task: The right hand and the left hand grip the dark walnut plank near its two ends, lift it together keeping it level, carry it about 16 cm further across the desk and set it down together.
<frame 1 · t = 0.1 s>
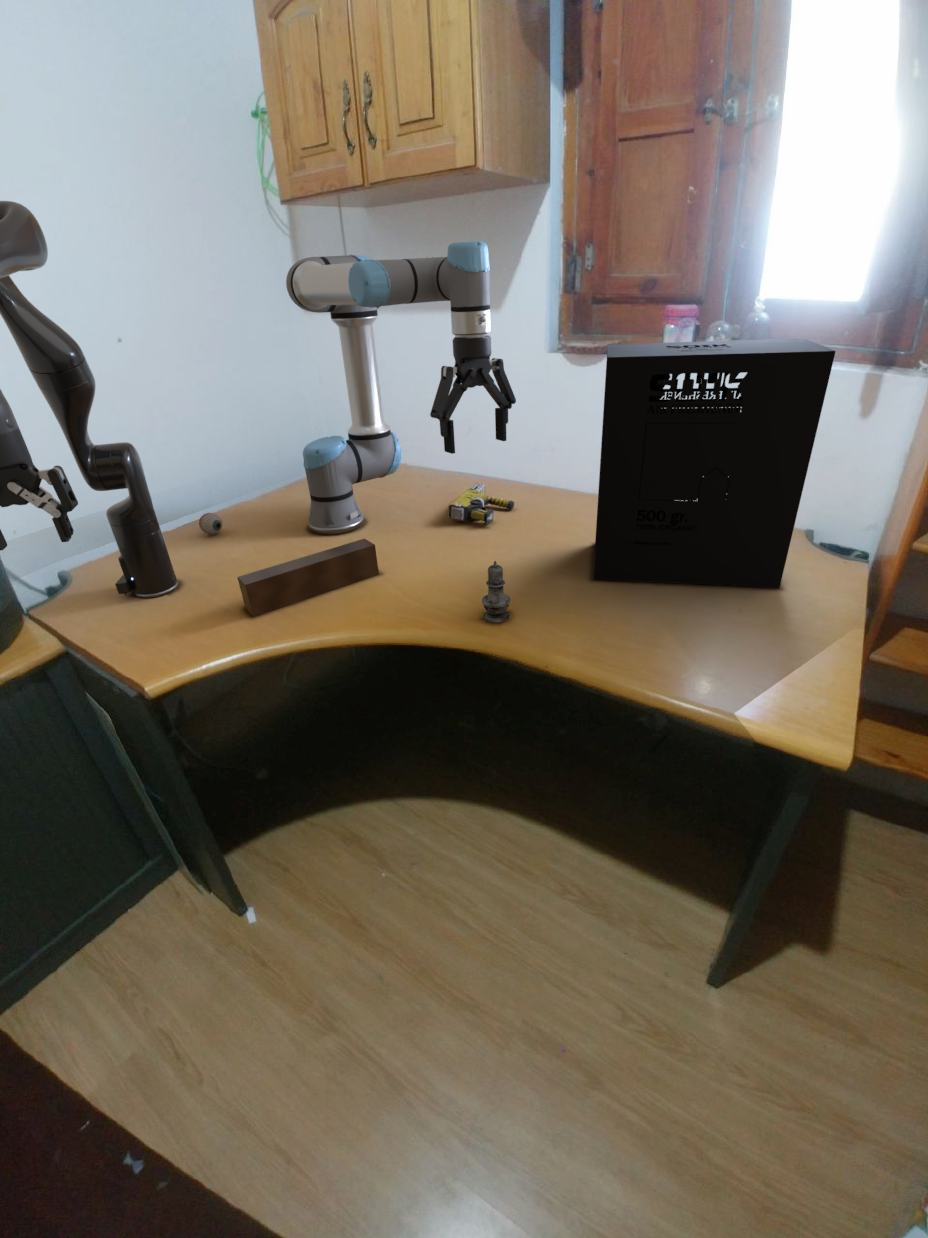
left hand: (34, 544, 87), 29 cm above the table, fingers open, 8 cm apart
right hand: (476, 446, 127), 28 cm above the table, fingers open, 13 cm apart
cardboard box: (678, 564, 137), on the table
eyeball: (214, 534, 168), on the table
grey tall turned piece: (496, 616, 120), on the table
plank: (315, 590, 135), on the table
toy gun: (486, 511, 173), on the table
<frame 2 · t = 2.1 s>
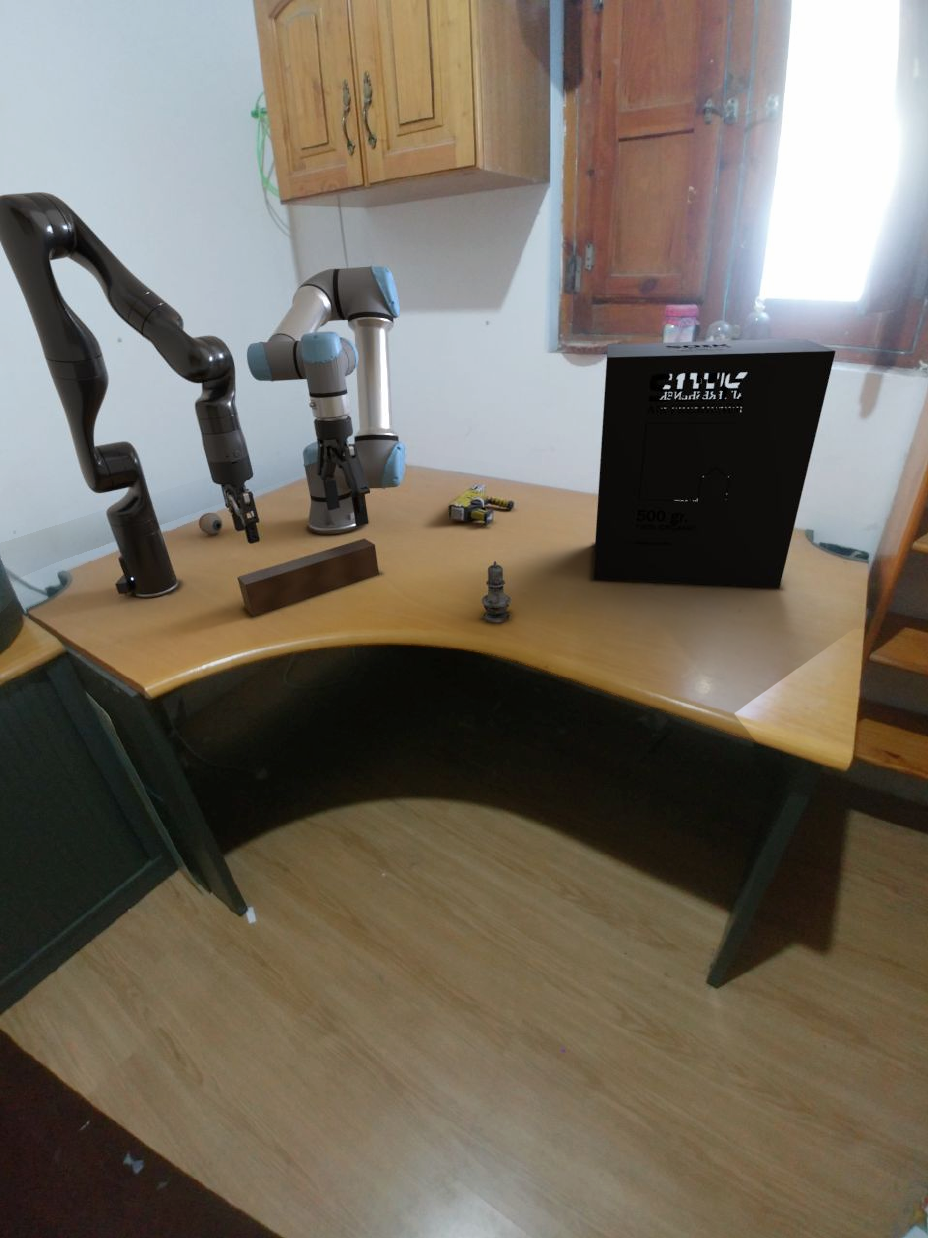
left hand: (247, 536, 120), 17 cm above the table, fingers open, 8 cm apart
right hand: (347, 516, 132), 15 cm above the table, fingers open, 13 cm apart
nothing on the table moved.
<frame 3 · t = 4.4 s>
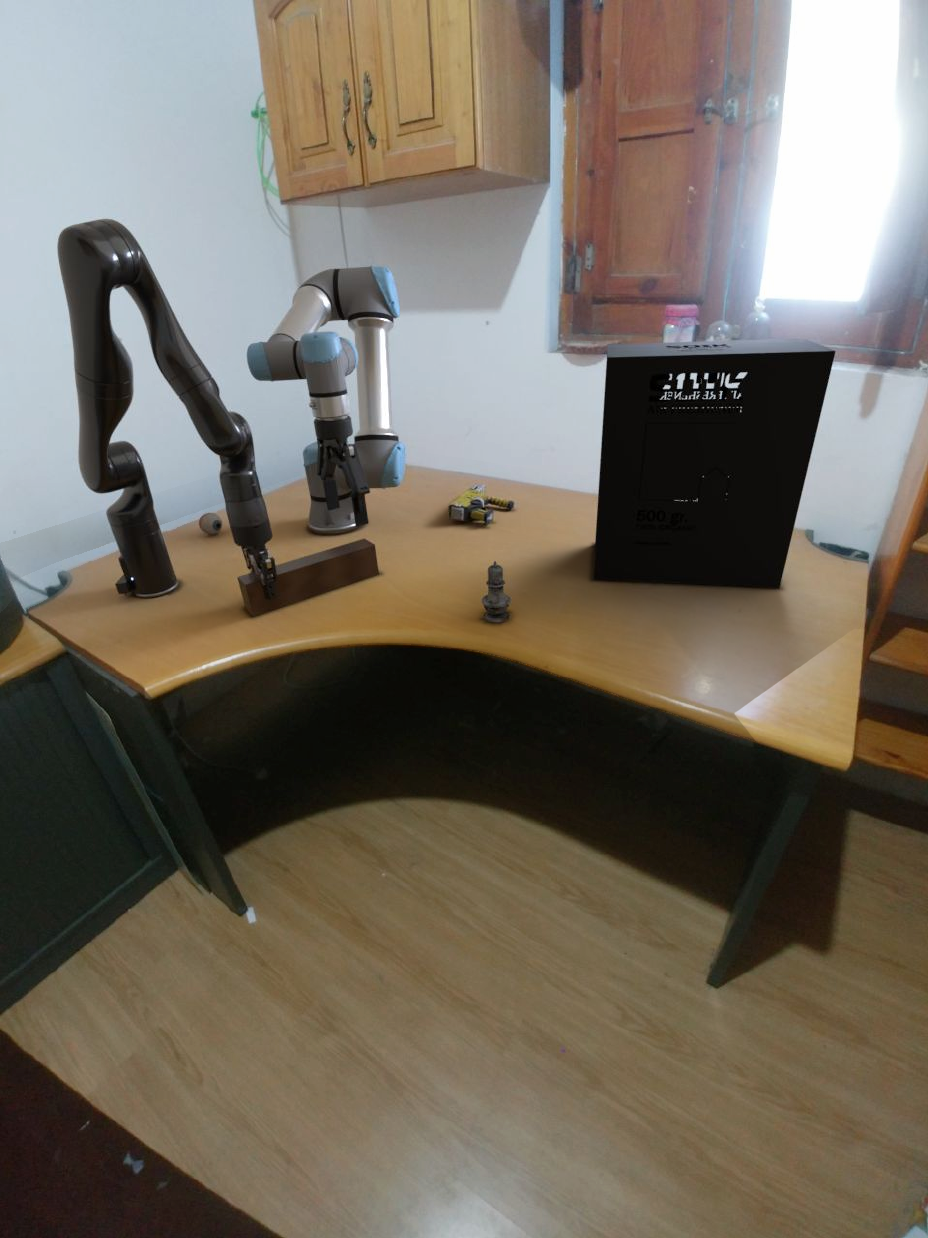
left hand: (266, 593, 128), 3 cm above the table, fingers closed on plank, 5 cm apart
right hand: (347, 516, 132), 15 cm above the table, fingers open, 13 cm apart
plank: (315, 590, 135), on the table, touching left hand
everything else where it was.
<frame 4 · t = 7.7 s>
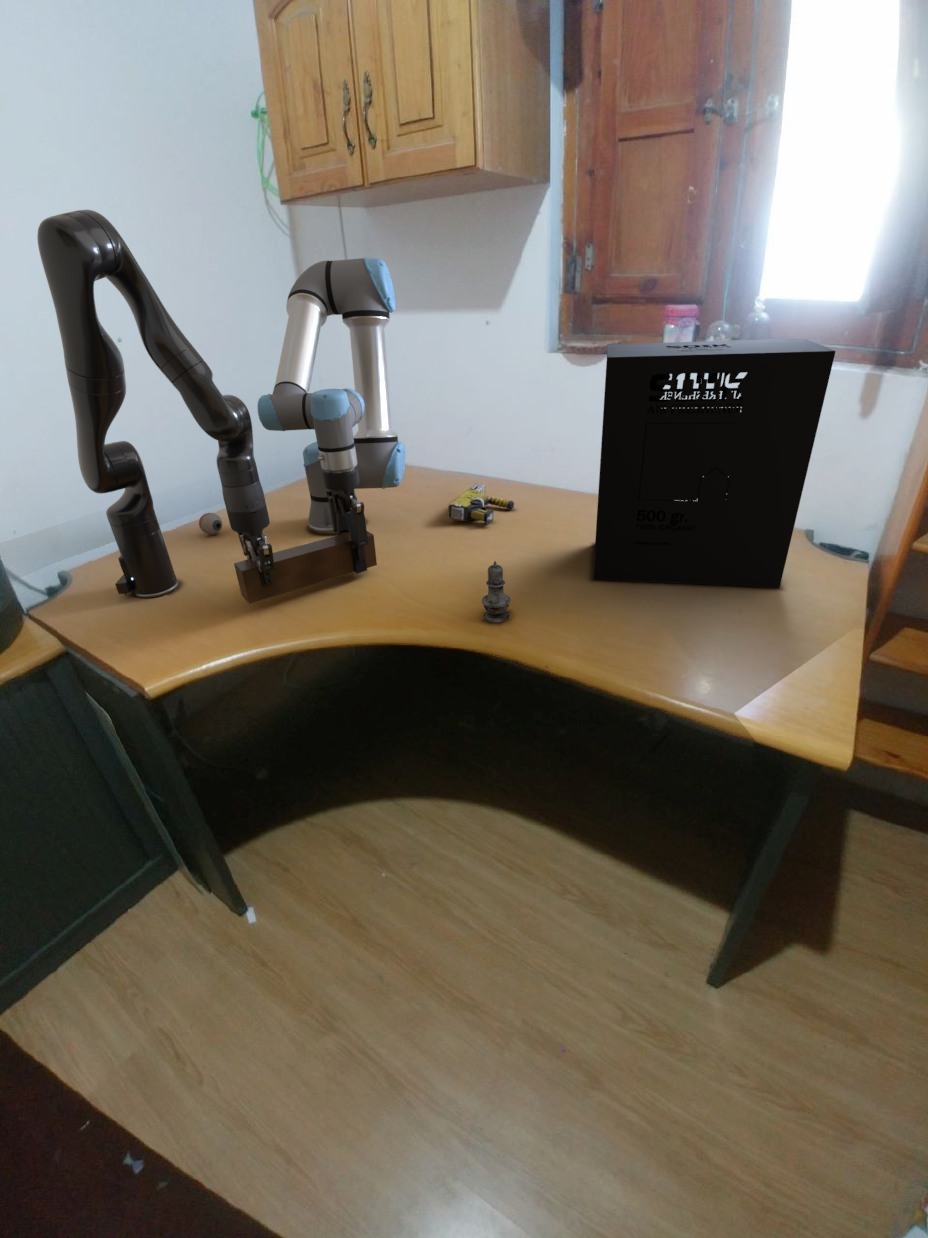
left hand: (263, 580, 127), 6 cm above the table, fingers closed on plank, 5 cm apart
right hand: (355, 567, 139), 2 cm above the table, fingers closed on plank, 5 cm apart
plank: (312, 579, 134), point 3 cm above the table, touching right hand, left hand
everything else where it was.
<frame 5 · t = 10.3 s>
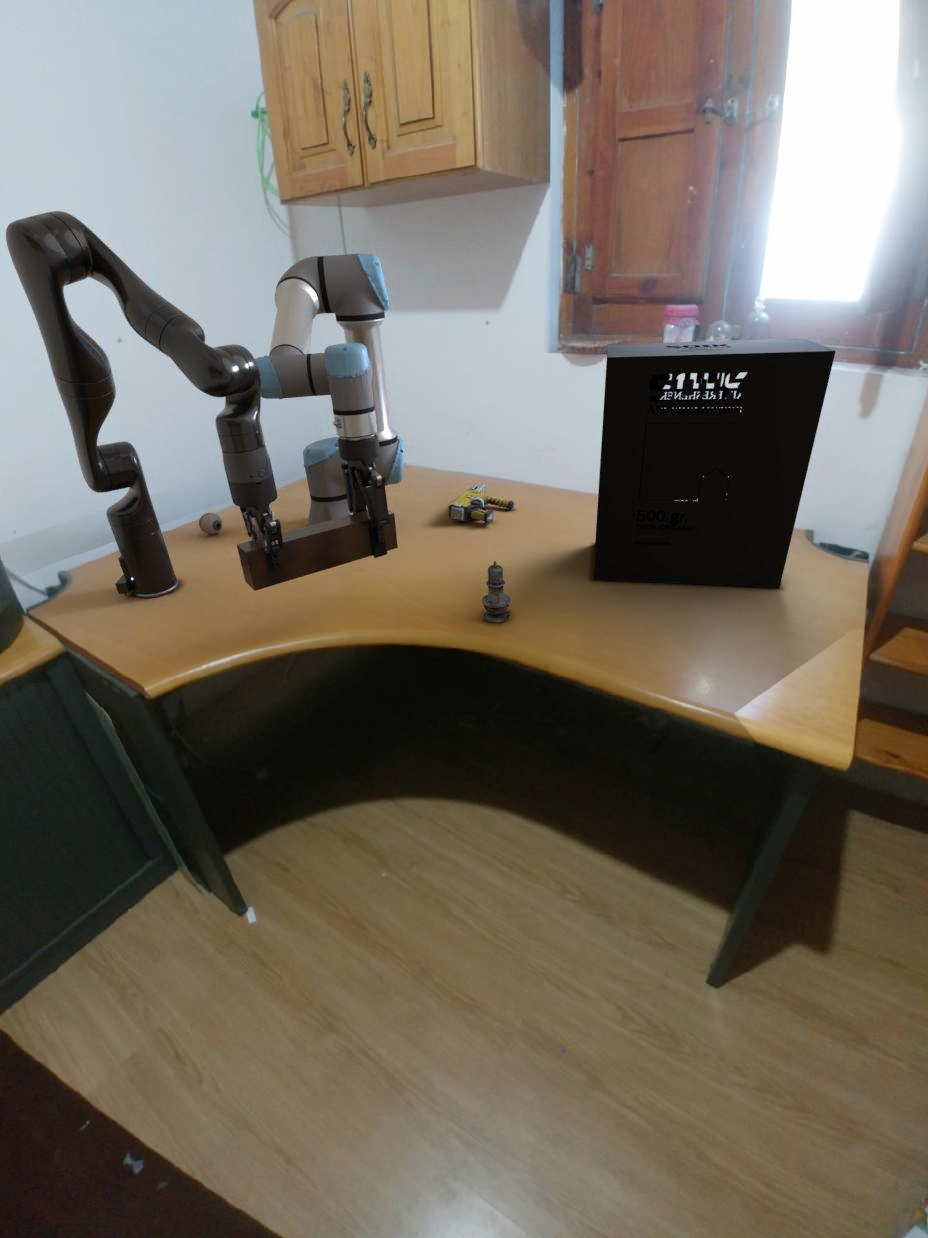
left hand: (270, 565, 111), 15 cm above the table, fingers closed on plank, 5 cm apart
right hand: (373, 551, 123), 12 cm above the table, fingers closed on plank, 5 cm apart
plank: (325, 564, 117), point 12 cm above the table, touching right hand, left hand
everything else where it was.
when the right hand's fingers open (0 cm above the table, at t = 13.1 s): plank stays where it is, on the table.
when the left hand's fingers open (4 cm above the table, at t = 13.2 s): plank stays where it is, on the table.
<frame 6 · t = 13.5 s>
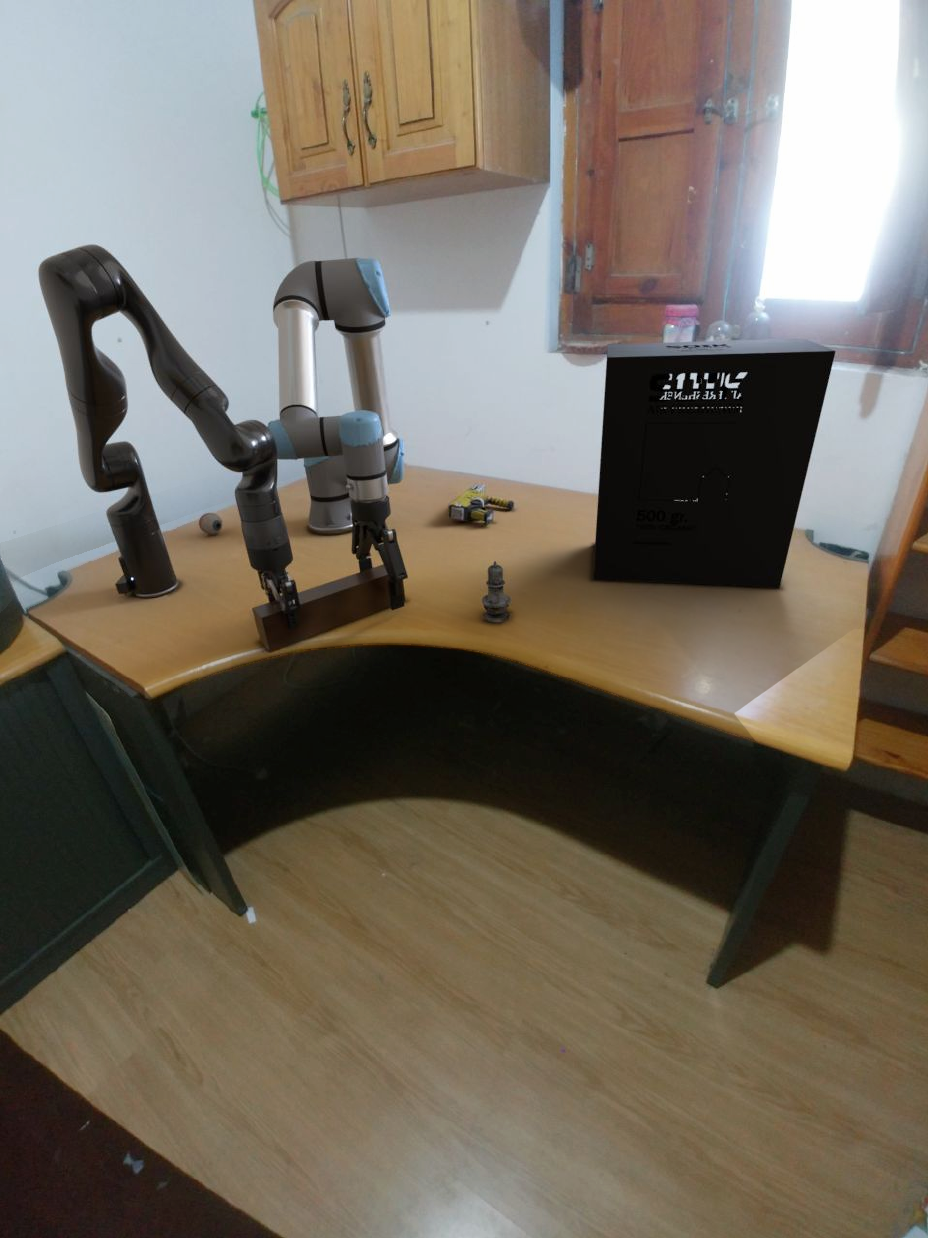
left hand: (285, 619, 115), 4 cm above the table, fingers open, 7 cm apart
right hand: (382, 597, 127), 2 cm above the table, fingers open, 11 cm apart
plank: (336, 620, 122), on the table
everything else where it was.
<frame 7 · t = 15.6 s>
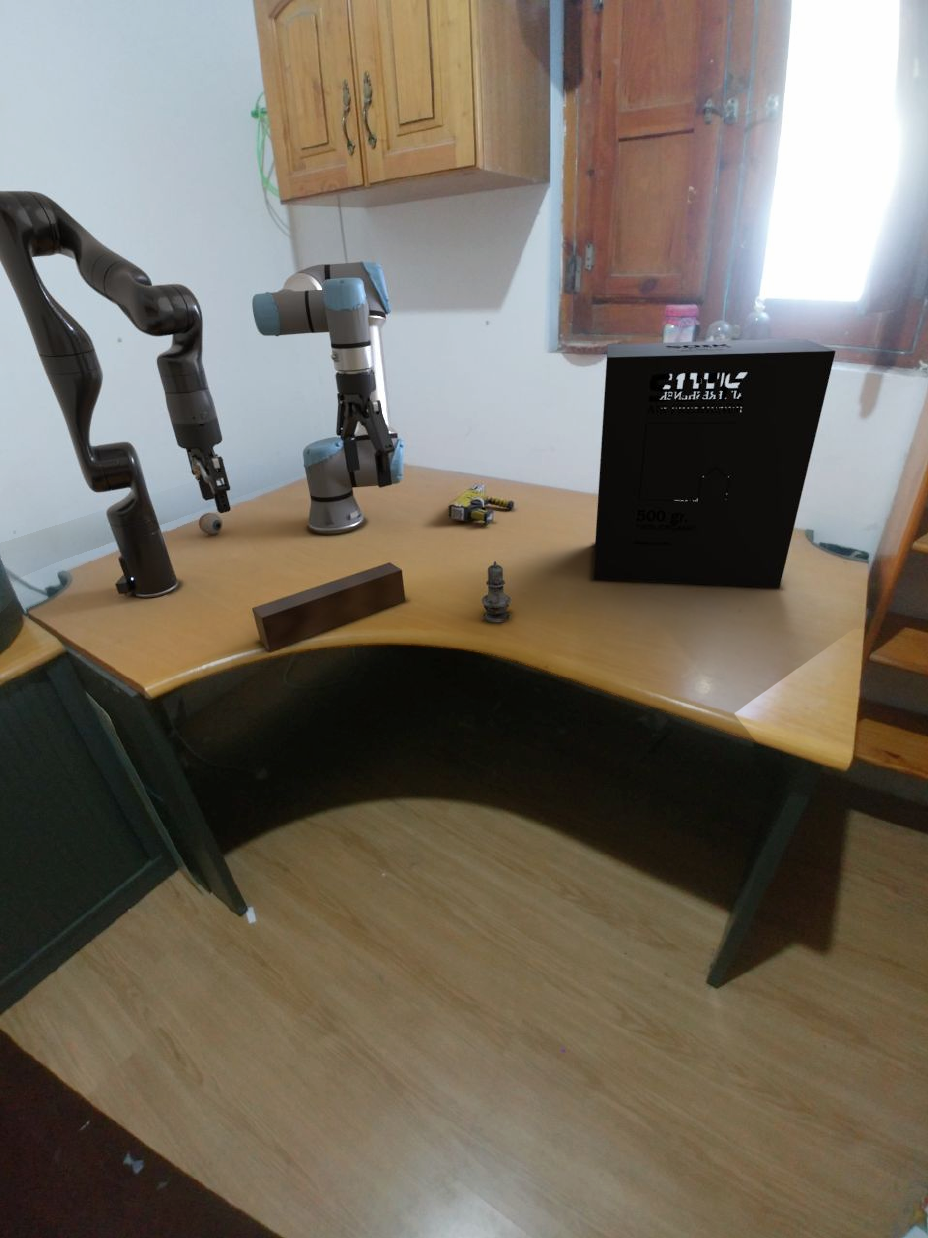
left hand: (216, 505, 113), 25 cm above the table, fingers open, 8 cm apart
right hand: (369, 478, 127), 23 cm above the table, fingers open, 13 cm apart
nothing on the table moved.
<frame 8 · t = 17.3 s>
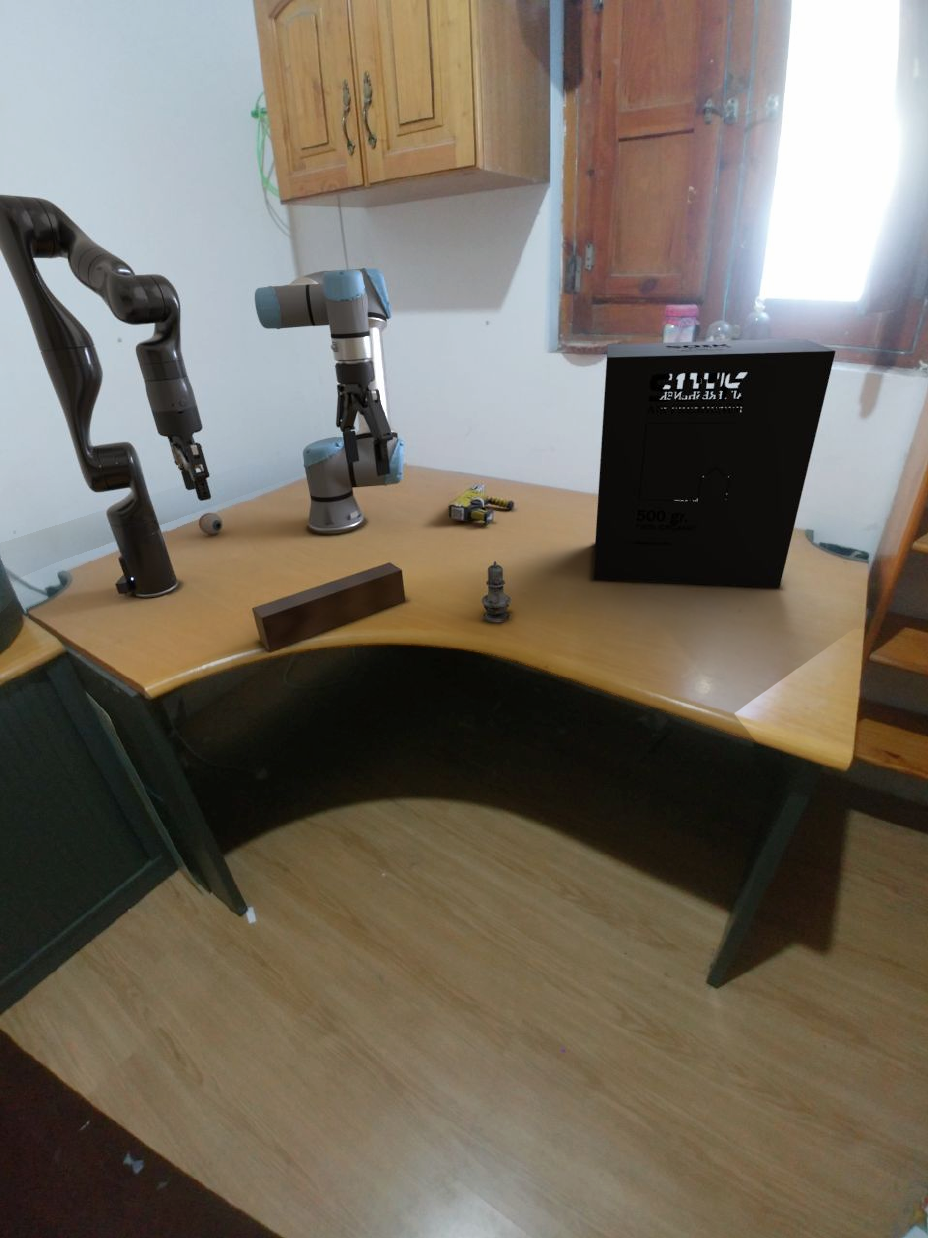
left hand: (198, 494, 114), 26 cm above the table, fingers open, 8 cm apart
right hand: (367, 468, 129), 25 cm above the table, fingers open, 13 cm apart
nothing on the table moved.
at the end: plank inside the target area (0.5 cm from its centre), on the table; both hands held the plank at the same time; plank never tilted more than 2° during the clip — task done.
